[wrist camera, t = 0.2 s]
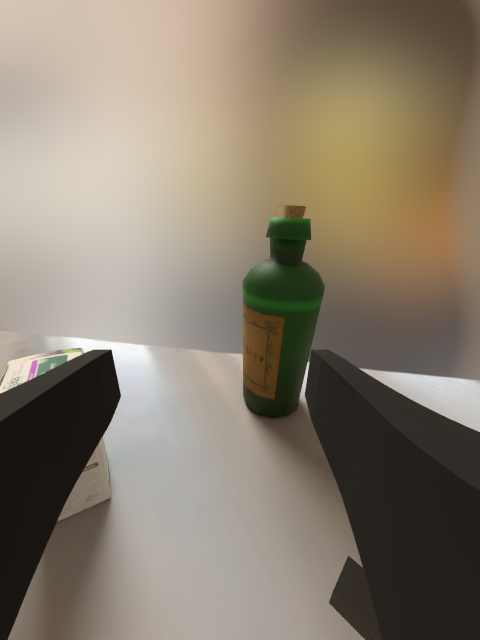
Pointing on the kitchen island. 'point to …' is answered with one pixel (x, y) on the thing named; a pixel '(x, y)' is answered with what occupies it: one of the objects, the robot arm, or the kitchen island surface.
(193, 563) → the kitchen island surface
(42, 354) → the syrup box
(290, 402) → the bottle
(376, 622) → the cooker lid
